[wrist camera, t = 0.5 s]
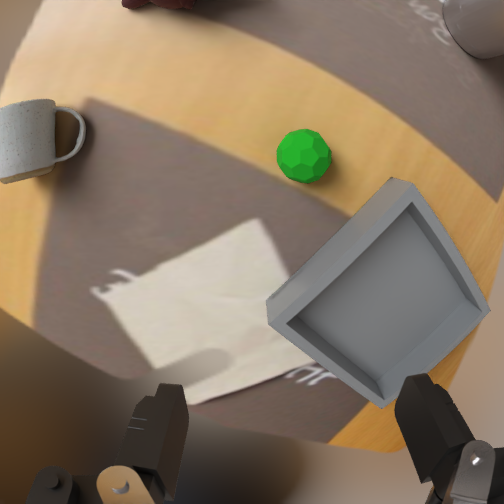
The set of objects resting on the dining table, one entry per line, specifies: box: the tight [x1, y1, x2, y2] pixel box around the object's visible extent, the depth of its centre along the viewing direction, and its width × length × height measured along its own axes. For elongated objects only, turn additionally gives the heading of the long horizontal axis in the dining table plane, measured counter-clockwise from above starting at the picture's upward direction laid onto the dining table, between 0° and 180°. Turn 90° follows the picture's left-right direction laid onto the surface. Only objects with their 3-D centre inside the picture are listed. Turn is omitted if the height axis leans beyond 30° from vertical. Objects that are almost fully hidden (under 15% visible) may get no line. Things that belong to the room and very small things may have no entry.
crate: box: [266, 177, 491, 409], centre depth 32 cm, size 19×21×5 cm
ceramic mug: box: [0, 99, 86, 184], centre depth 25 cm, size 11×8×8 cm
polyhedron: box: [277, 129, 331, 184], centre depth 27 cm, size 5×5×5 cm
